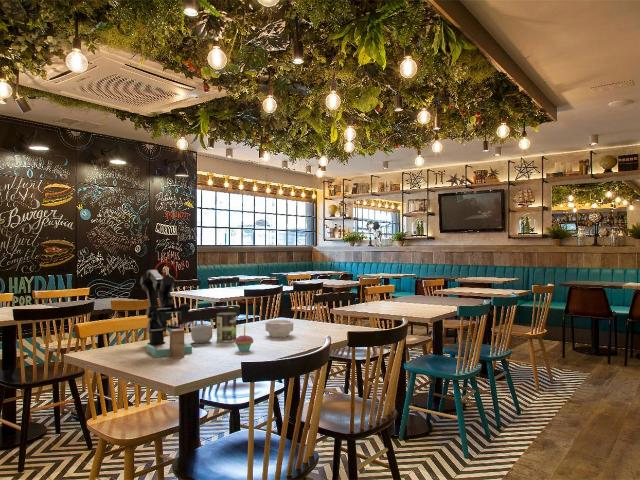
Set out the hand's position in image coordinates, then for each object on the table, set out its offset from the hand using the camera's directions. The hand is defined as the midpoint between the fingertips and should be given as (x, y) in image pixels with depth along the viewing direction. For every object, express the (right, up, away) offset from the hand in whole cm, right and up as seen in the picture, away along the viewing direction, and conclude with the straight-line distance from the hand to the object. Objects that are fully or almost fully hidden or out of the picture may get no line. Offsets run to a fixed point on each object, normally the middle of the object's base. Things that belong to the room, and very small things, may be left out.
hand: (172, 325), depth 217 cm
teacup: (+7, -14, +28) cm, 32 cm away
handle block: (+4, -13, -6) cm, 15 cm away
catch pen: (-3, -13, +4) cm, 14 cm away
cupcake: (+32, -13, +6) cm, 35 cm away
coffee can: (+19, -14, +31) cm, 39 cm away
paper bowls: (+45, -14, +43) cm, 64 cm away
